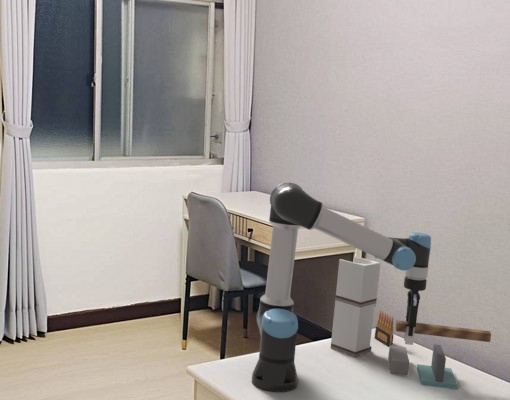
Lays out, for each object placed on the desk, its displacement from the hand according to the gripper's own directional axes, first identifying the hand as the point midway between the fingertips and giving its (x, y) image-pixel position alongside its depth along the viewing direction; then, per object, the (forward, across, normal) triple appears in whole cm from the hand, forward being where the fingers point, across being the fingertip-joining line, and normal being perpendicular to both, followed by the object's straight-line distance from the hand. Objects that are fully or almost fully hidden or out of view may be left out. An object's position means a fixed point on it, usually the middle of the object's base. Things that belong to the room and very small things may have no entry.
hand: (408, 342), depth 246 cm
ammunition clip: (+12, -33, -6) cm, 36 cm away
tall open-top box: (+12, -19, -19) cm, 30 cm away
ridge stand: (+12, 0, +11) cm, 16 cm away
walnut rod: (-4, 0, +11) cm, 12 cm away
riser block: (+12, -7, -2) cm, 14 cm away
